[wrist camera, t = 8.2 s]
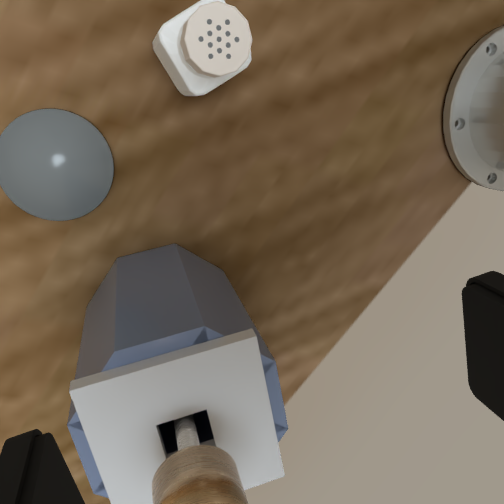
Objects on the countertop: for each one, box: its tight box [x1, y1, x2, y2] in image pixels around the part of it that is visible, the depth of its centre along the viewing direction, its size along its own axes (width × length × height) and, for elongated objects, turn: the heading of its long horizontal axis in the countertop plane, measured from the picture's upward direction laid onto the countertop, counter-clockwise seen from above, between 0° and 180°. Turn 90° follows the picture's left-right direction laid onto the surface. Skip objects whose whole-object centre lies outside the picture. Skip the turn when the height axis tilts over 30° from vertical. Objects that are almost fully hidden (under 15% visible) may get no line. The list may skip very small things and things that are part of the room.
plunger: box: [152, 414, 248, 504], centre depth 25 cm, size 7×7×18 cm
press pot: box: [67, 244, 288, 504], centre depth 30 cm, size 10×13×14 cm
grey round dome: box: [0, 109, 114, 221], centre depth 31 cm, size 7×7×1 cm
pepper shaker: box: [152, 0, 252, 96], centre depth 27 cm, size 4×4×10 cm
